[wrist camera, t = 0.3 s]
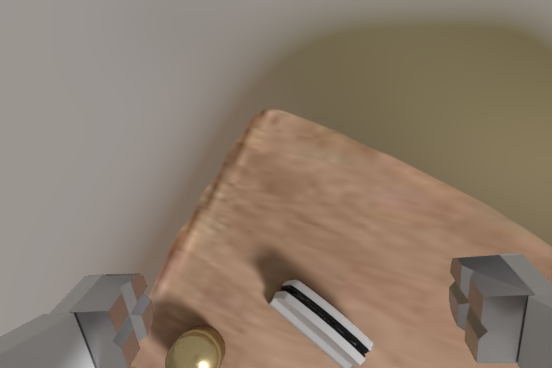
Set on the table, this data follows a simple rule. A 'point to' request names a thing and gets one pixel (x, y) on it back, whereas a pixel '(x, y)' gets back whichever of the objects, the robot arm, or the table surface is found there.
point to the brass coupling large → (197, 349)
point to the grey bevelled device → (321, 324)
